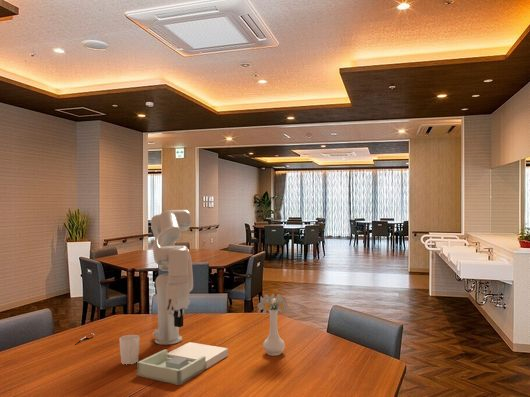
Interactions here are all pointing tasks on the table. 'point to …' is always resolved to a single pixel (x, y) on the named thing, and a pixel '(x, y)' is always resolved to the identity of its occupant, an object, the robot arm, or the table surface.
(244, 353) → the table surface
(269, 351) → the flower vase
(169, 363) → the grey square block
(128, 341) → the white cup
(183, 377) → the box
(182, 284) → the robot arm
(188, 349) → the plate
